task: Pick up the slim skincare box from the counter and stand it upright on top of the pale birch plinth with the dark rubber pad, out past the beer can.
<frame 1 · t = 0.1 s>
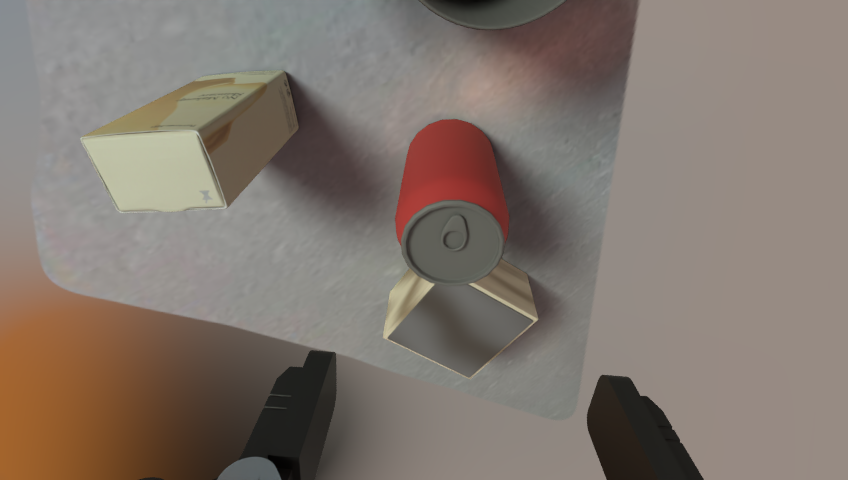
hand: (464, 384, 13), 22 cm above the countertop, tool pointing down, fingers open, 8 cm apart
skincare box: (251, 102, 31), on the countertop
birch plinth: (456, 283, 40), on the countertop
beer can: (449, 157, 33), on the countertop
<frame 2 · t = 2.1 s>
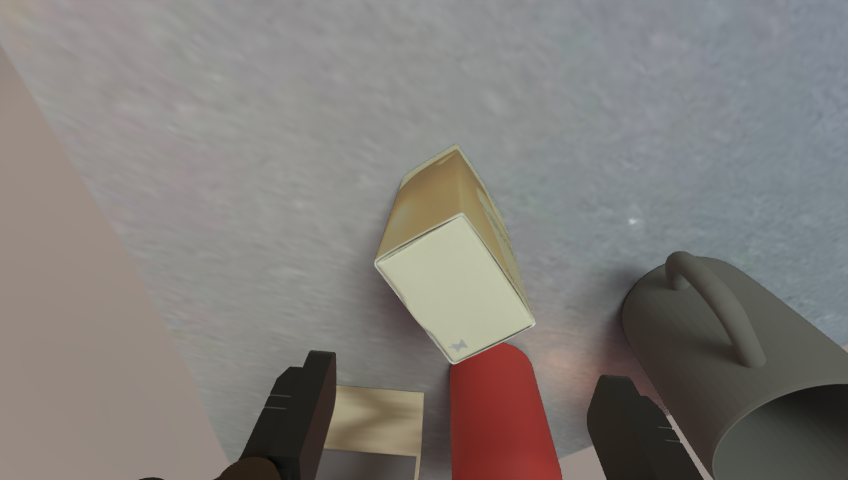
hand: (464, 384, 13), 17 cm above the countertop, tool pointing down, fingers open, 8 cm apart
mug: (670, 284, 31), on the countertop
skincare box: (452, 195, 28), on the countertop
birch plinth: (369, 426, 38), on the countertop
beer can: (490, 367, 35), on the countertop
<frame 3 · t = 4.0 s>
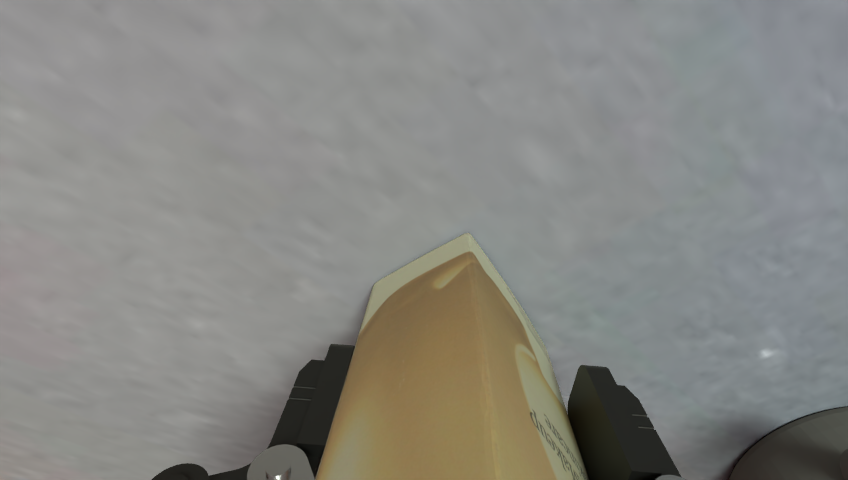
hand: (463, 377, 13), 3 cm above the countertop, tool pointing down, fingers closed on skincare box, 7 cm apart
mug: (811, 440, 19), on the countertop
skincare box: (459, 311, 17), on the countertop, touching gripper
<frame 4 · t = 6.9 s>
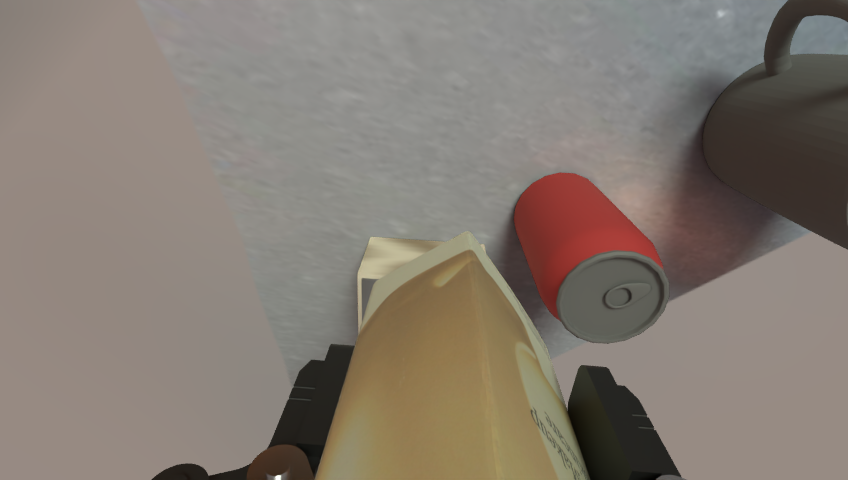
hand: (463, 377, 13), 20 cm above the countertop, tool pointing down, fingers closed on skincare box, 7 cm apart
mug: (756, 96, 29), on the countertop
skincare box: (459, 309, 16), point 17 cm above the countertop, touching gripper
birch plinth: (424, 288, 36), on the countertop
beer can: (555, 211, 33), on the countertop
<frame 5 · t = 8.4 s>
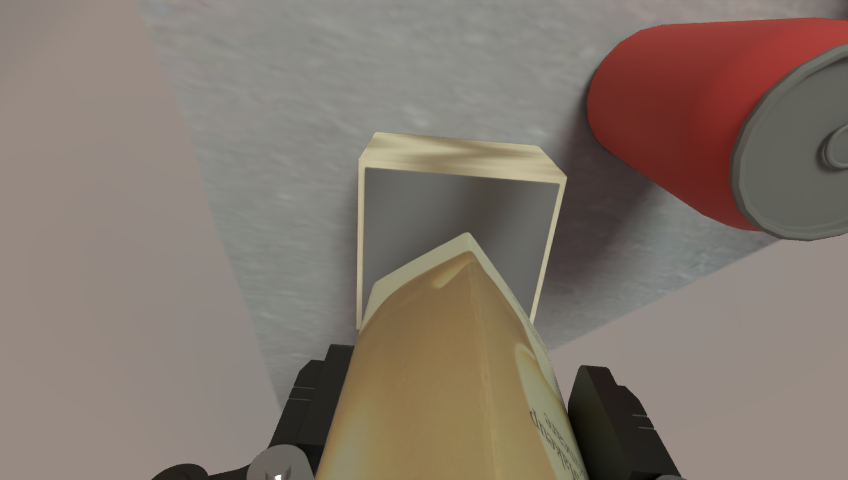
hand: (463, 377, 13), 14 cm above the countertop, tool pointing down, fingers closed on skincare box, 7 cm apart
skincare box: (459, 310, 17), point 10 cm above the countertop, touching gripper
birch plinth: (448, 214, 26), on the countertop
beer can: (645, 94, 23), on the countertop
when the fingers open (10 cm above the countertop, at t = 9.7 s): skincare box stays where it is, resting on birch plinth.
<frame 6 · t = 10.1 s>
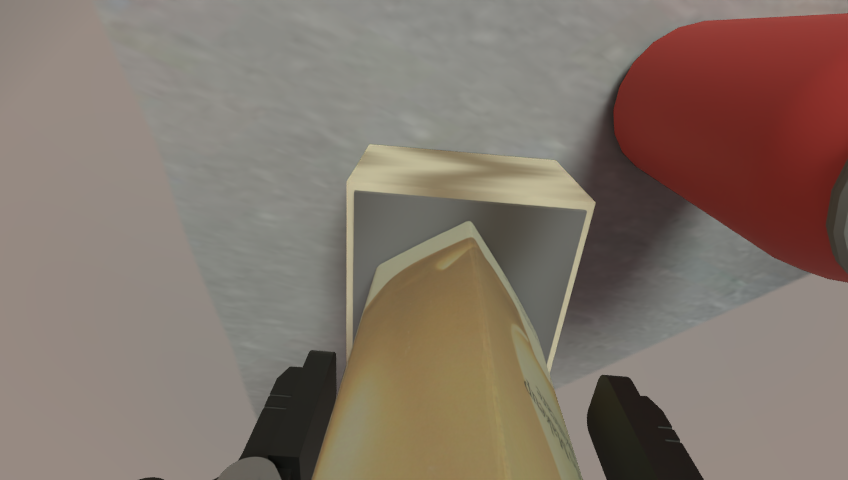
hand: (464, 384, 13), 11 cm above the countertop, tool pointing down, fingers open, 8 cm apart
skincare box: (456, 296, 17), point 6 cm above the countertop, touching birch plinth
birch plinth: (452, 236, 23), on the countertop
beer can: (680, 102, 20), on the countertop
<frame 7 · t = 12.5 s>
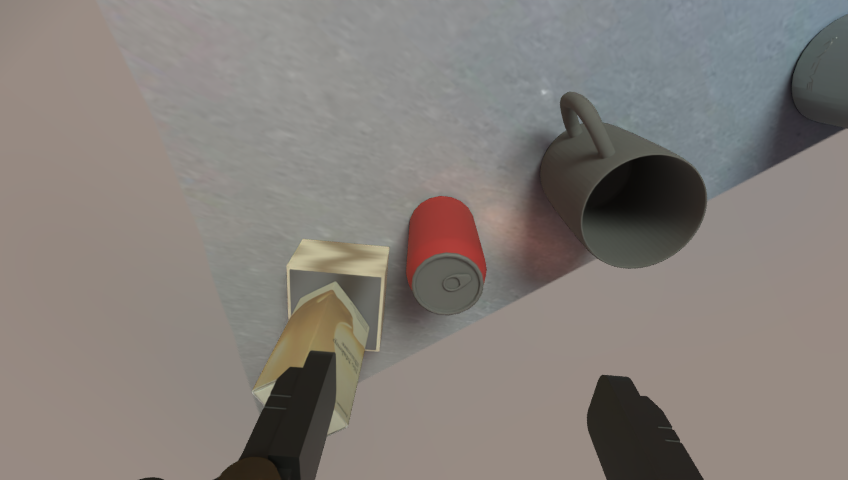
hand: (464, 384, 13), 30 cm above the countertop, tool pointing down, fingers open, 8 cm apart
mug: (575, 148, 41), on the countertop
skincare box: (334, 310, 41), point 6 cm above the countertop, touching birch plinth
birch plinth: (345, 280, 47), on the countertop
beer can: (441, 223, 44), on the countertop
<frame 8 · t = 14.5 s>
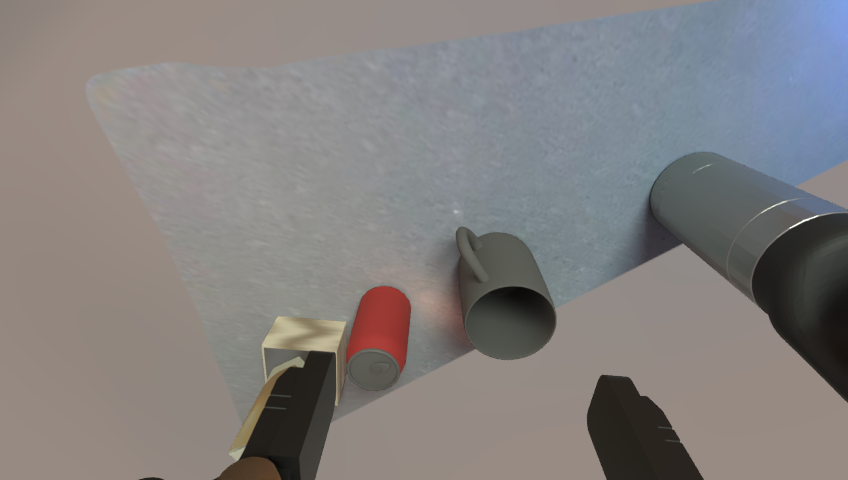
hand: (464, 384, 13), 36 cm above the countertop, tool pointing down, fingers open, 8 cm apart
mug: (485, 249, 52), on the countertop
skincare box: (300, 376, 53), point 6 cm above the countertop, touching birch plinth
birch plinth: (313, 346, 58), on the countertop
beer can: (385, 304, 55), on the countertop
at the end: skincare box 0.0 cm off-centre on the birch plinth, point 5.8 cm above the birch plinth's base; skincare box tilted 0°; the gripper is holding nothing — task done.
